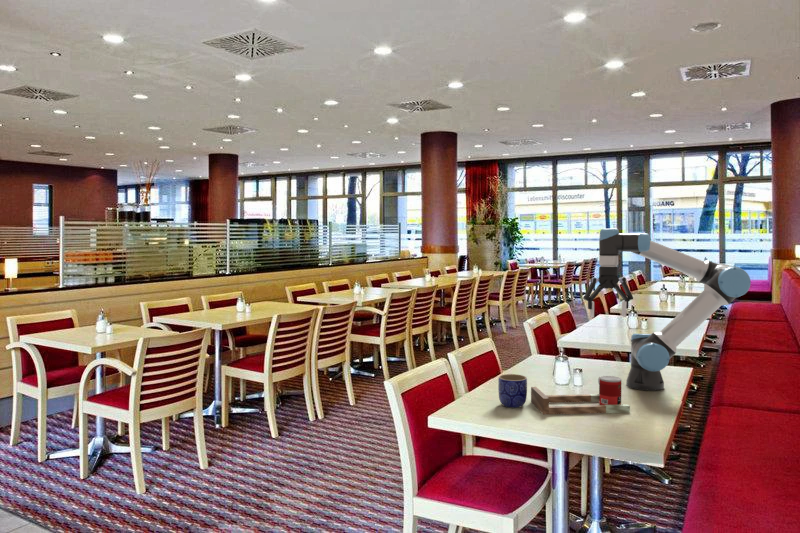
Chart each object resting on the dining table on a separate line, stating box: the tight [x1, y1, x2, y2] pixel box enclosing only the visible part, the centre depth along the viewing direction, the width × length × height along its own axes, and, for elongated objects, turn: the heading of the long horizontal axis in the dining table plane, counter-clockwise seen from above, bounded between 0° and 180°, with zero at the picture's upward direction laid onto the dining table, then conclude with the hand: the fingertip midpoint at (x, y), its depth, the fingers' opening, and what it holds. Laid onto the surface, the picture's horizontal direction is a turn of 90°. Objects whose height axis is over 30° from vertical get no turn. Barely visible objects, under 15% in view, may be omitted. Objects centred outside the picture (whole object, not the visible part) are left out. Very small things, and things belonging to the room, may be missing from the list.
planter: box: [497, 373, 528, 409], centre depth 235 cm, size 11×11×11 cm
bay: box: [530, 386, 631, 416], centre depth 232 cm, size 32×17×6 cm, turn 93°
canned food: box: [598, 375, 623, 405], centre depth 233 cm, size 8×8×11 cm
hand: (608, 317), depth 252 cm, fingers open, 13 cm apart
